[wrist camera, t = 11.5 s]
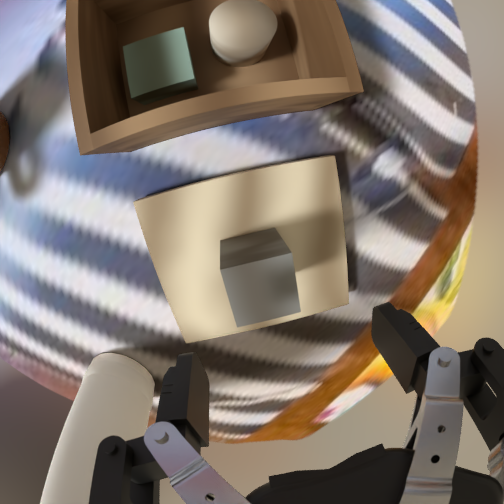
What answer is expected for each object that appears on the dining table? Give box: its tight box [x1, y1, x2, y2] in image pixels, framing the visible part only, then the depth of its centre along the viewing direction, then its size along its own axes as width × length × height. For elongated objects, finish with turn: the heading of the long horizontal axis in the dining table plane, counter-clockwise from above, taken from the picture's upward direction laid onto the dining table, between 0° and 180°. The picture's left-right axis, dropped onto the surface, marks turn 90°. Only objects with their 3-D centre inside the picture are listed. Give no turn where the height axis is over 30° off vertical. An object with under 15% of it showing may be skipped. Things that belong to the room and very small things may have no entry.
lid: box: [133, 155, 349, 343], centre depth 19 cm, size 15×13×7 cm
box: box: [66, 0, 364, 155], centre depth 12 cm, size 14×12×8 cm
